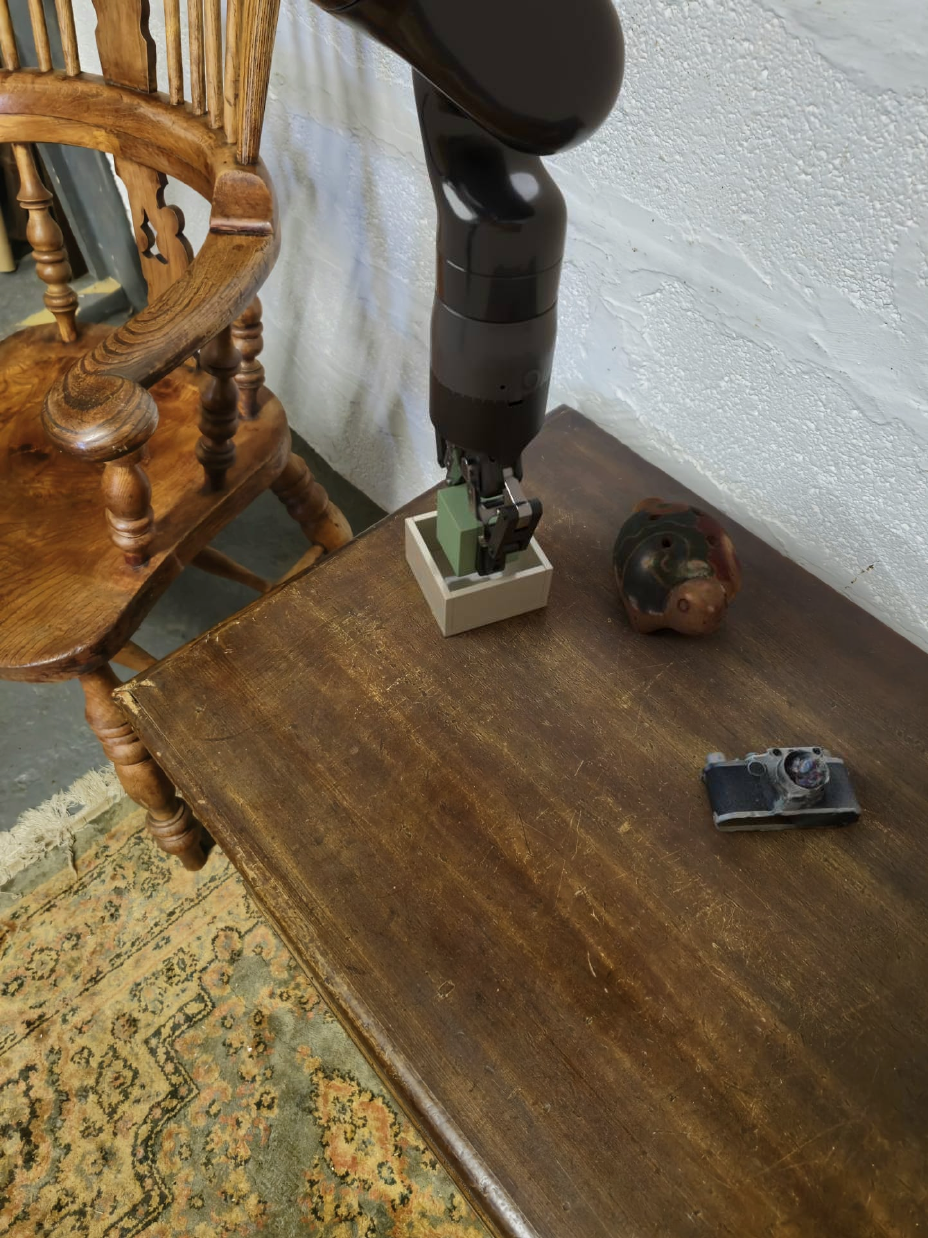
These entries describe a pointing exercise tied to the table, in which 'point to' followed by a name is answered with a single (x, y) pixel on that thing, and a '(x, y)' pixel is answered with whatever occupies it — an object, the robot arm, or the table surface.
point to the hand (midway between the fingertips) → (476, 546)
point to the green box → (460, 529)
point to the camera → (780, 790)
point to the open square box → (473, 581)
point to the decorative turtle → (675, 568)
